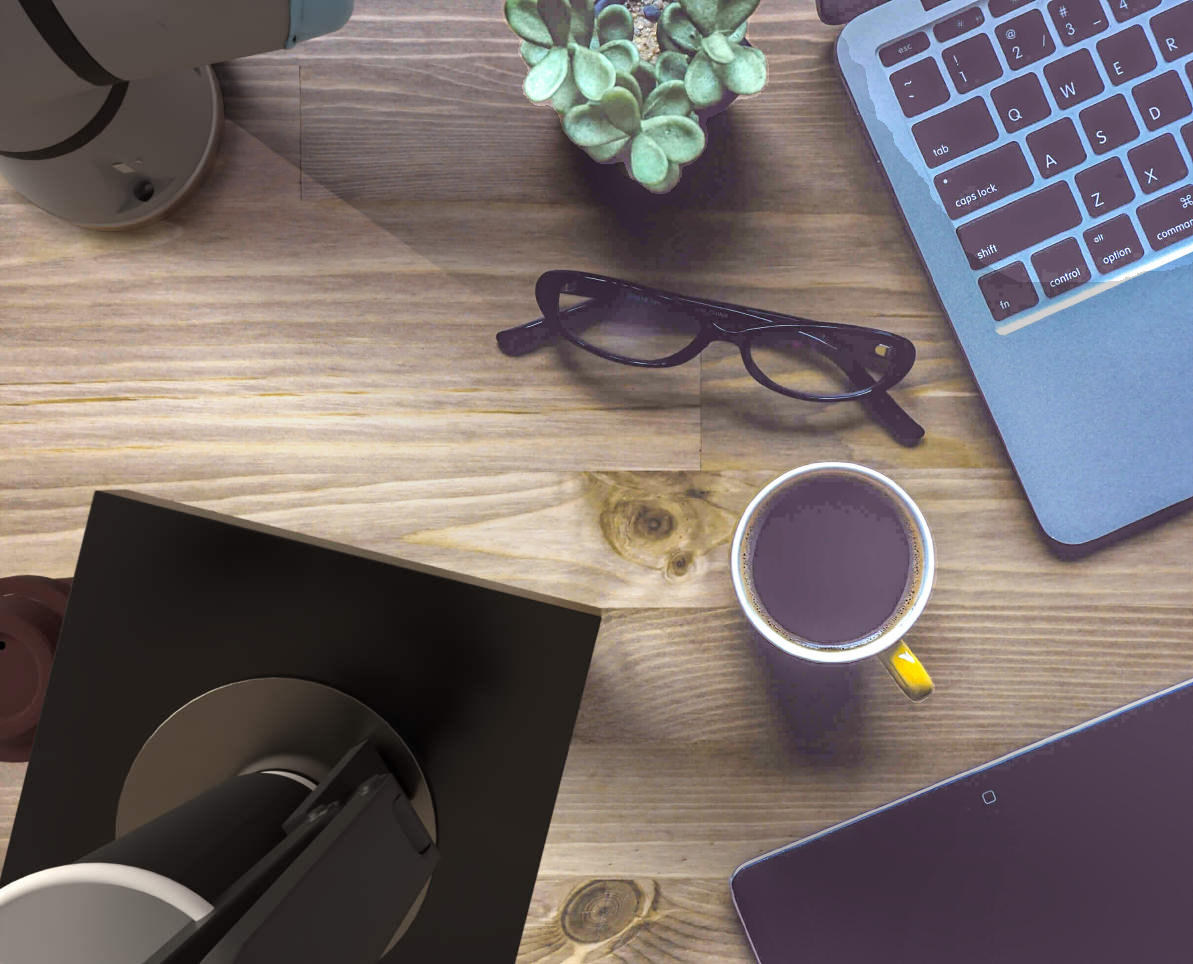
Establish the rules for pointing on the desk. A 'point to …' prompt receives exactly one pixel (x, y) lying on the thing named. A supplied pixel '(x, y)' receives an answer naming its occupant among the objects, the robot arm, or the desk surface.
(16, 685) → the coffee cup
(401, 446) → the desk surface
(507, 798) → the stove
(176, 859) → the dixie cup
